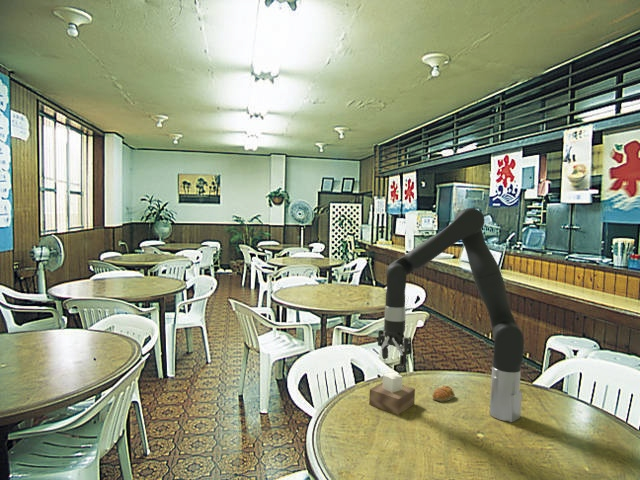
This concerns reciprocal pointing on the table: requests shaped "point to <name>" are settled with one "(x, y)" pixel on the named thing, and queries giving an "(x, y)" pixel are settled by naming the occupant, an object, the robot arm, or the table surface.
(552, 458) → the table surface
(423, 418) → the table surface
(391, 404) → the walnut box
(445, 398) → the pastry
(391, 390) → the cube
